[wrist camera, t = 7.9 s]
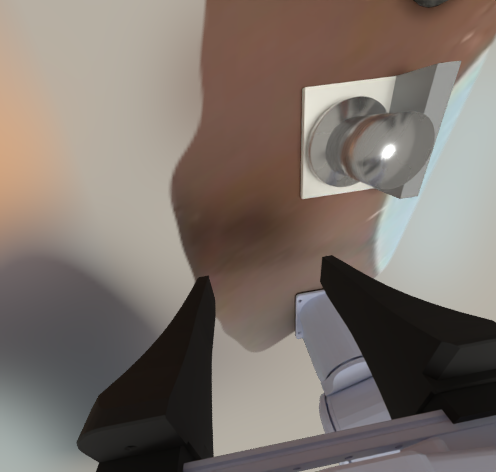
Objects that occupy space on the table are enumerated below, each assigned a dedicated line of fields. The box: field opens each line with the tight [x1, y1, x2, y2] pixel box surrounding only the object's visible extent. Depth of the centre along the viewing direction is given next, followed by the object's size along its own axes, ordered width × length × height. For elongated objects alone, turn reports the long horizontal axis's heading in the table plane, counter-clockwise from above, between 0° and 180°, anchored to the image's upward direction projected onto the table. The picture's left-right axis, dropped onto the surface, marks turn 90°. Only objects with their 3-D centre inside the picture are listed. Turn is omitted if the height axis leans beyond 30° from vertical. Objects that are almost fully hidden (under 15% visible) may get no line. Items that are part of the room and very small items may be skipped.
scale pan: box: [307, 96, 388, 187], centre depth 17 cm, size 7×7×1 cm
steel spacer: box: [326, 111, 435, 190], centre depth 14 cm, size 4×4×5 cm
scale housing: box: [300, 61, 461, 199], centre depth 16 cm, size 9×9×4 cm
